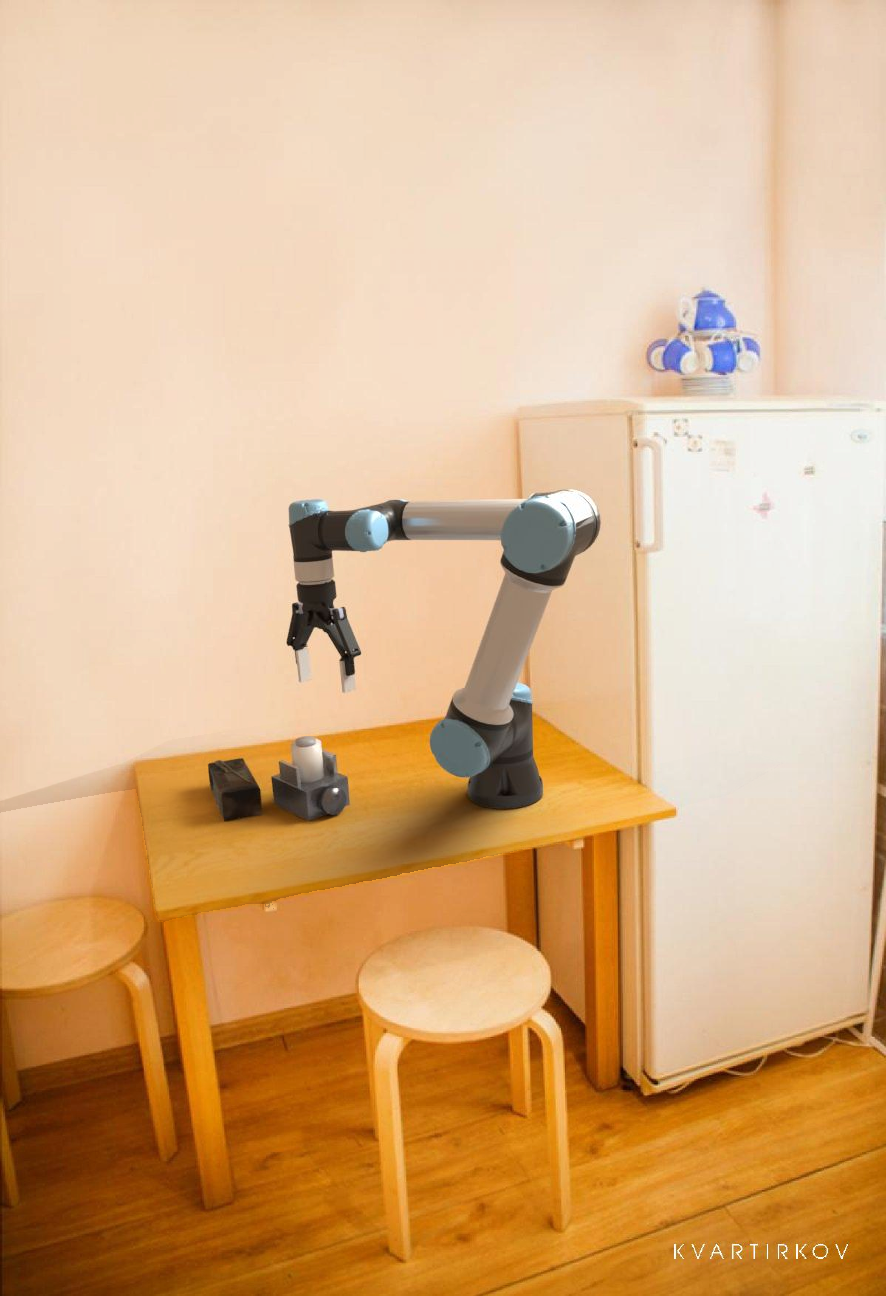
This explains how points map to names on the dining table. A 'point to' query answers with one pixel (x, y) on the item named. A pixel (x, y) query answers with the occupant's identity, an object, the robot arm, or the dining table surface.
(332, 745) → the dining table surface
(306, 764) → the white cylindrical container
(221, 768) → the beverage carton
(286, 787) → the motor
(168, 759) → the dining table surface
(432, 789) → the dining table surface
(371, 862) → the dining table surface
